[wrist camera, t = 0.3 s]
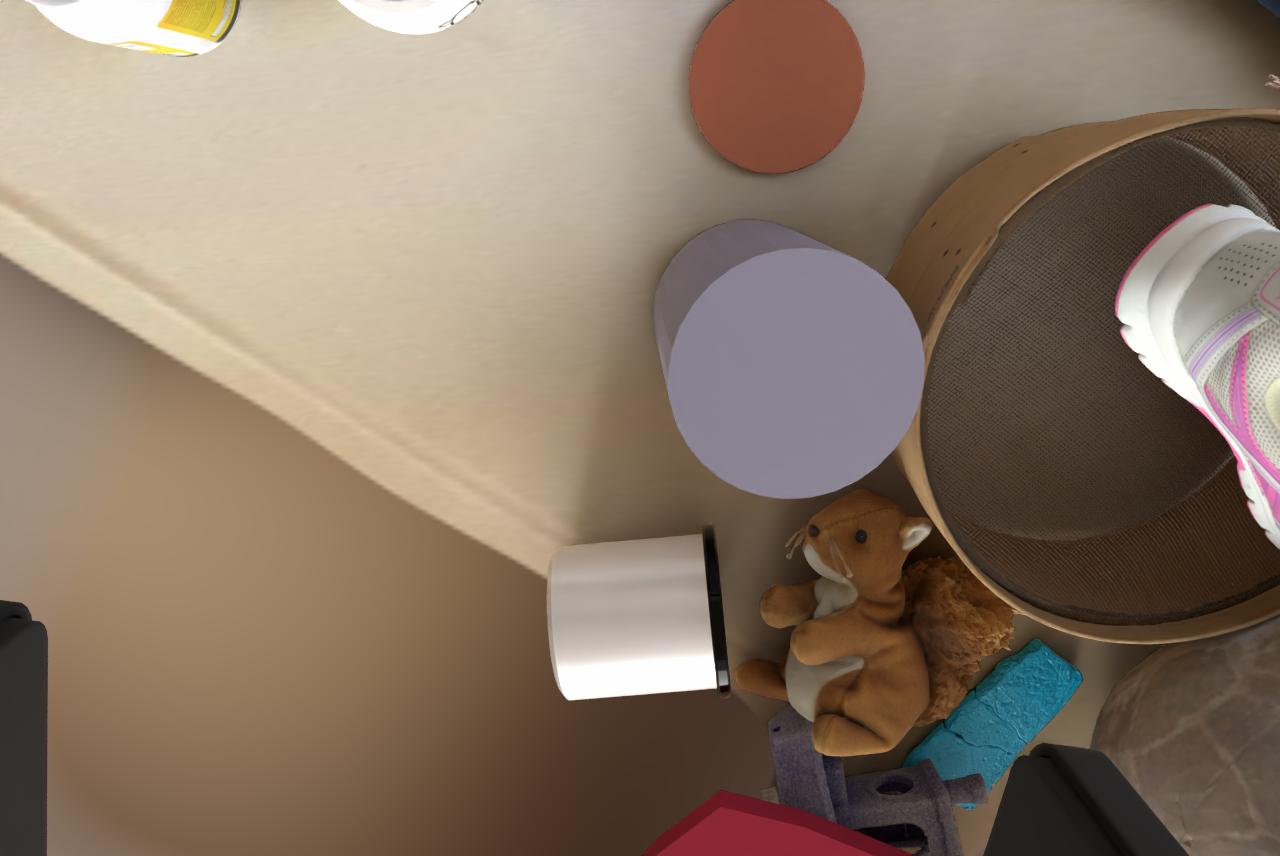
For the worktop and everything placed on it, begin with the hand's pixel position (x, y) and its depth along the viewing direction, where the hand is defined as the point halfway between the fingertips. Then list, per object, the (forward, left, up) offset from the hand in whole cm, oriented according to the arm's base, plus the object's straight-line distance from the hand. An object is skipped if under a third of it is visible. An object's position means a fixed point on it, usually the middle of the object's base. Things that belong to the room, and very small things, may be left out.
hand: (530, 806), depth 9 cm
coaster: (-11, +7, -44) cm, 46 cm away
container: (+1, +8, -44) cm, 45 cm away
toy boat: (+32, +16, -41) cm, 54 cm away
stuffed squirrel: (+22, +19, -40) cm, 49 cm away
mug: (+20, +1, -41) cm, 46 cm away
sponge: (+22, +26, -43) cm, 55 cm away
